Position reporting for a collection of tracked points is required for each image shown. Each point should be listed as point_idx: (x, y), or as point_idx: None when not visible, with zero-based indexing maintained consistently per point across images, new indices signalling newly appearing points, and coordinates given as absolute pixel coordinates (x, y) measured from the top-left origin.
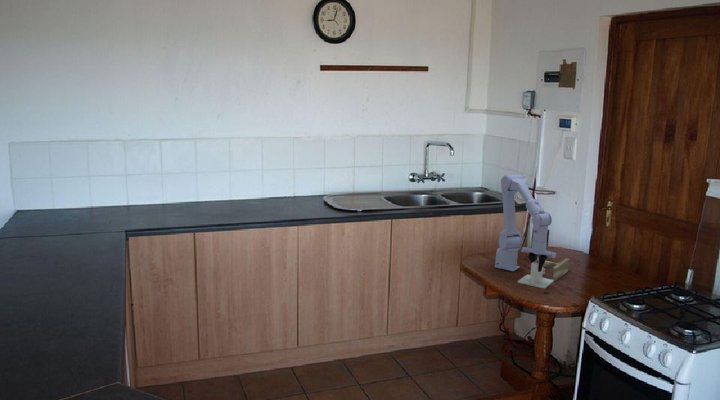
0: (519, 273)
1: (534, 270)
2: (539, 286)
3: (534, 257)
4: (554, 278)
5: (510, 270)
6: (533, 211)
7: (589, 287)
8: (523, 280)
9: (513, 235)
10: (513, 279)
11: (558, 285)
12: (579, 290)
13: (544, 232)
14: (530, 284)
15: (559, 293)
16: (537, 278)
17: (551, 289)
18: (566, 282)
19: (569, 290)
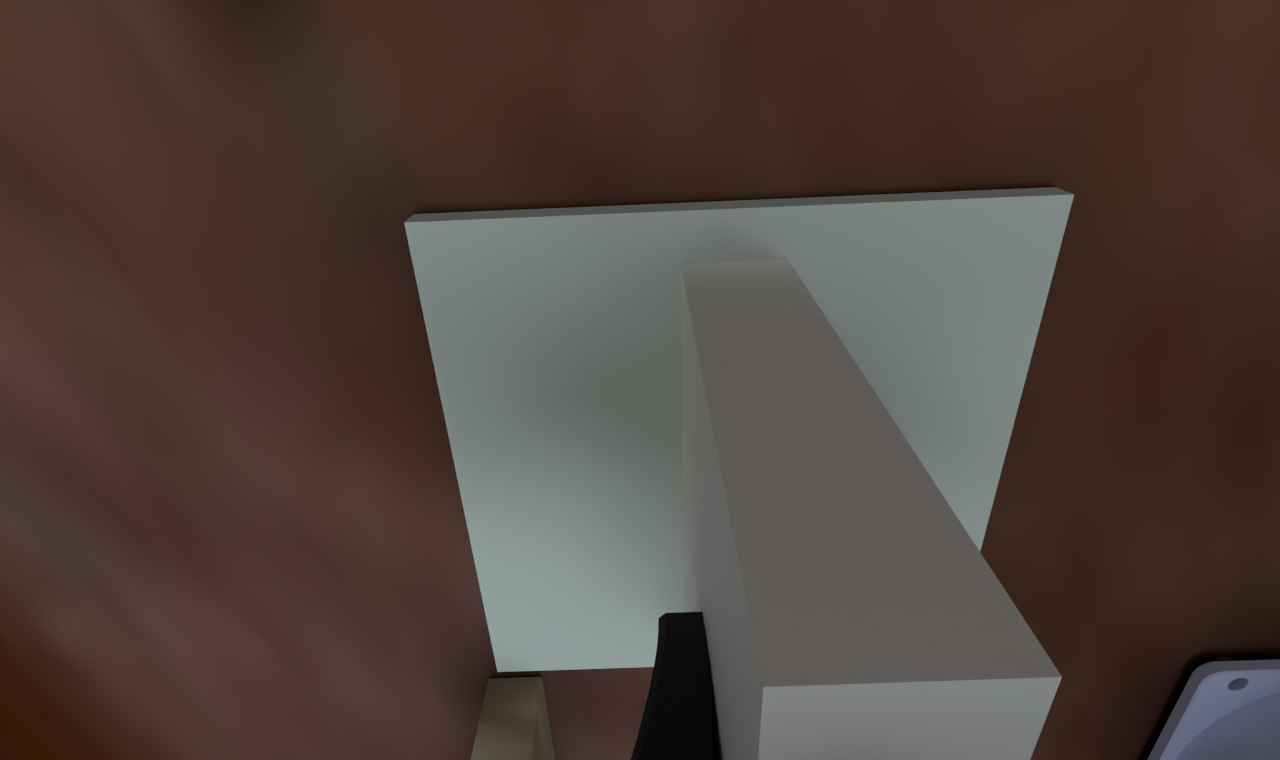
0: (1082, 648)
1: (755, 446)
2: (531, 215)
3: None
4: (505, 712)
5: (1252, 663)
6: None
7: (18, 727)
8: (953, 332)
9: None
10: (1162, 320)
11: (349, 550)
12: None
13: None
14: (747, 204)
15: (23, 147)
16: (687, 476)
17: (298, 277)
18: (350, 715)
19: (64, 450)
